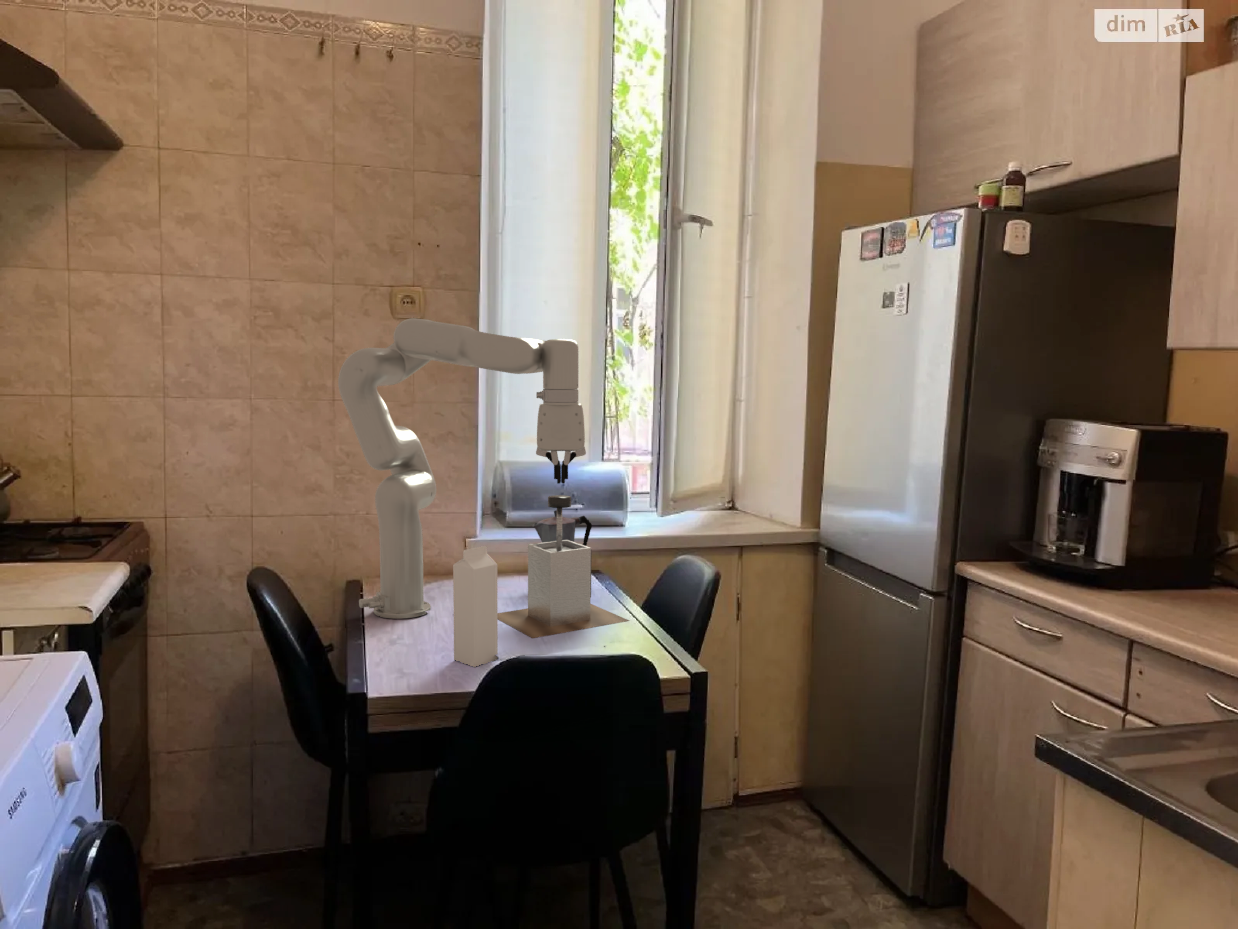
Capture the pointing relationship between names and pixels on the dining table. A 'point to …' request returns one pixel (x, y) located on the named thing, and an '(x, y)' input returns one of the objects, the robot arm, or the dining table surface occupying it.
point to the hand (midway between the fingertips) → (561, 482)
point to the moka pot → (549, 528)
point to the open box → (559, 583)
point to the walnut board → (539, 629)
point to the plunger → (559, 518)
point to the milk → (475, 608)
